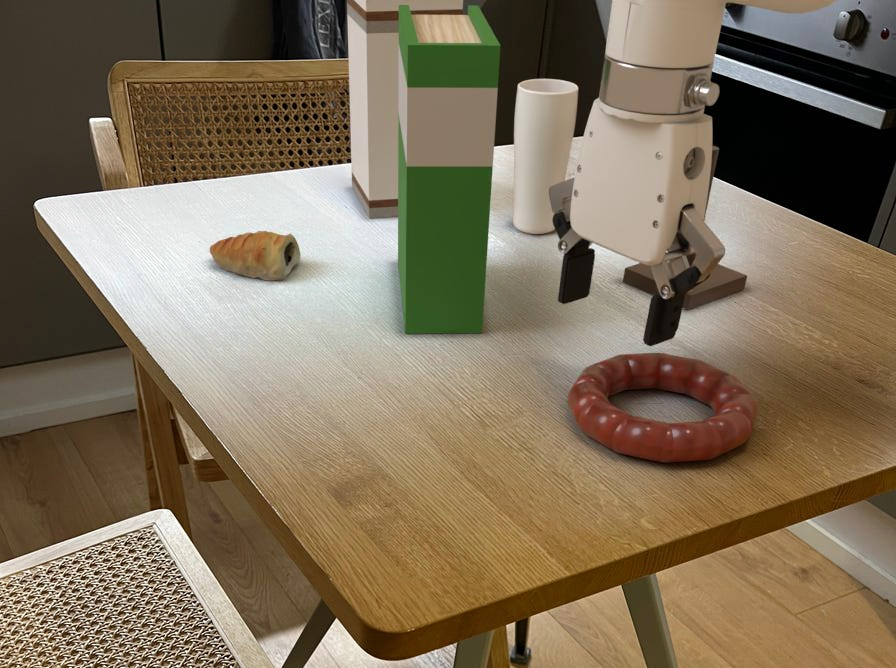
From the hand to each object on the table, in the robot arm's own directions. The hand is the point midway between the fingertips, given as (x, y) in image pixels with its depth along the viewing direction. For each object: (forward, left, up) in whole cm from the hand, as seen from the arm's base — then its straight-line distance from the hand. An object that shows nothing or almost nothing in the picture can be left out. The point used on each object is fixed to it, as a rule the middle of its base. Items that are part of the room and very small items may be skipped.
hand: (614, 319), depth 80 cm
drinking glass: (+34, -23, -7) cm, 42 cm away
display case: (+51, -16, -7) cm, 54 cm away
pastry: (+42, +10, -7) cm, 44 cm away
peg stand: (+12, -24, -7) cm, 28 cm away
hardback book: (+25, -1, -7) cm, 26 cm away
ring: (-6, 0, -5) cm, 8 cm away
